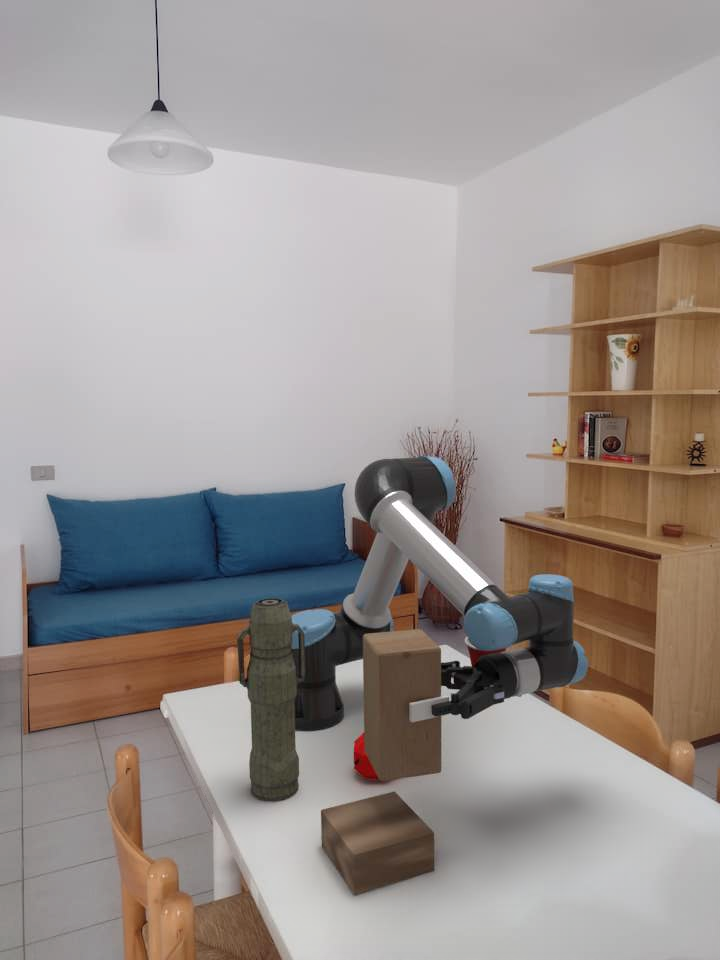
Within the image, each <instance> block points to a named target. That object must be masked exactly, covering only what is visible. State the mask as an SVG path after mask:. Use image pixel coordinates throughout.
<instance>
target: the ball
mask: <svg viewBox="0 0 720 960" xmlns="http://www.w3.org/2000/svg"><path fill="white" fill-rule="evenodd" d="M353 765H354V766H353V770H355V771H356V772H357V773H358V774H359V775H360V776H361V777H362V778H363V779H364V780H379V778H378V776H377V774H376V772H375V770H374V768H373V766H372V764H371V762H370V761H369V759H368V757H367V755H366V753H365V751H364V732H362V733H361V734H360V735H359V736H358V737H357V738H356V739H355V740H354V742H353Z"/></svg>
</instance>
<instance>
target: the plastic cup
mask: <svg viewBox="0 0 720 960" xmlns="http://www.w3.org/2000/svg"><path fill="white" fill-rule="evenodd" d="M464 643H465V645H466V647H467V650H468V654H469V658H470V659H469V660H470V664H471V667H474V665H475V664H476V662H477V661H478V659H479V658H480V657H481V656H484V655H489V654H494V653H501V652H504V651H507V648H505V649H498V650H493V651H482V650H479V649H477V648H475V647H474V646H473V645H472V644H471V643H470V642H469V640H468V636H467V635H466V637H464Z"/></svg>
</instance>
